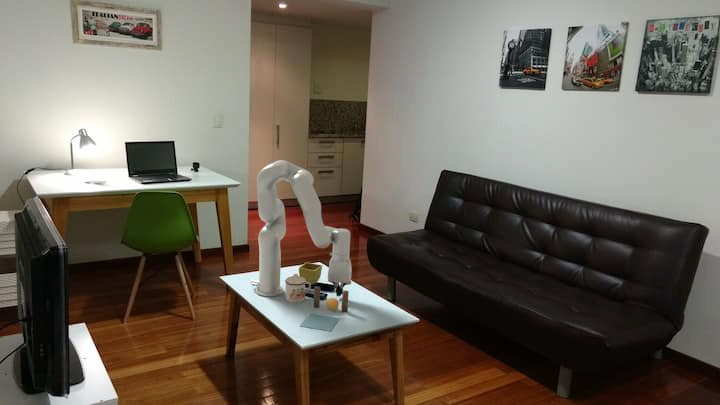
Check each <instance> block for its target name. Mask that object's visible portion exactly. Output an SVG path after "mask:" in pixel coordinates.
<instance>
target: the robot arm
mask: <svg viewBox="0 0 720 405" xmlns="http://www.w3.org/2000/svg"><path fill="white" fill-rule="evenodd" d="M314 180H315V179H314V176H313V174H312V173H311V172H310V171H309V170H307V169H305V168H303V167H300V166H299V165H296V164H294V163H292V162H289V161H287V160H285V159H279V160H276V161H275V162H274V161H273V162H272V163H270V164H268V165H266V166H265V167H264V168H262V169H261V170H260V171H259V173H258V175H257V178H256V192H257V209H258V216H259V218H260V220H261V221H263V222H264V223H265V225H264V226H263V227H262V228H261V229H260V231H259V233H258V237H257V238H258V240H257V241H258V250H259V258H258V259H259V264H258V265H259V266H258V267H259V268H258V269H259V270H258V277H259V278H258V280H256V279H251V282H250V283H251V287H256V288H255V293H256V295H259V296H262V297H276V296H279V295H282V294H284V287H283V286H281V264H282V263H281V257H282V256H281V255H282V254H281V252H282V250H281V241H282V239H284V237H285V235H286V232H287V225H286V224H287V223H286V210H285V206H284V203H283V201H282V200H281V199H280V198H278V193H277V186H276V184H277V183H279V182H281V181H286V182H289V183H290V184H291V188H292V190H293V192H294V194H295V196H296V198H297V201H298V203H299V206H300V208H301V210H302V213H303V218H304V220H305V225H306V228H307V231H308V233H309V236H310V237H311V240H312V242H313V243H314V245H315V246H316V247H317V248H319V249H320V248H321V249H325V248H328V247H329V245H331V244H332V252H329V255H328V256H330V257H331V258H330V260H329V265H328V272H327V281H328V282H329V283H331V284H332V285H334V288H335V294H336V297H342V291H344V287H345V286H349V285H351V284H352V276H353V274H352V273H353V272H352V270H353V269H352V261H351V259H350V254H351V253H350V248H351V231H350V230H349V229H347V228H336V227H333V226H327V225H325V224H324V221H323V218H322V217H323V216H322V203H321V201H320V199H319V196H318V195H317V193H316V190H315V188H314Z"/></svg>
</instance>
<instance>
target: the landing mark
mask: <svg viewBox="0 0 720 405" xmlns="http://www.w3.org/2000/svg"><path fill="white" fill-rule="evenodd" d="M340 319H341V317H337V316H330V315H323V314H319V313H318V314H317V313H309V314H308V316H306V318H305V319H304V320H303V321H302V322H301V324H299V327H301V328H306V329H307V328H308V329H314V330H320V331H324V332H325V331H327V332H332V330H334V328H335V326H336V325H337V323H338V322H339V320H340Z"/></svg>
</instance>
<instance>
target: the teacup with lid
mask: <svg viewBox="0 0 720 405" xmlns="http://www.w3.org/2000/svg"><path fill="white" fill-rule="evenodd" d="M305 284H309V285H308V287H307V289H306V285H305ZM311 288H312V286H311V284H310V283H309V282H306V280H305V279H304V278H303V277H300V276H299V273H294V274H293V275H292V276H289V277H287V278H285V295H284V296H285V297H284V298H285V301H286V302H288V303H293V304H294V303H295V304H296V303H301V302H303V301H305V299H306V294H307V293H308V292H310V290H311Z"/></svg>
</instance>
